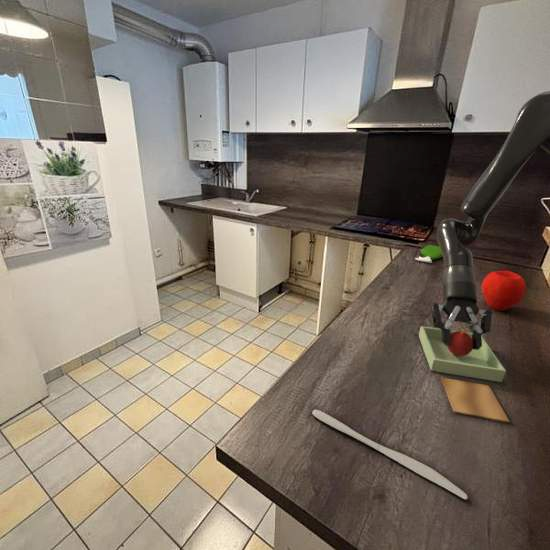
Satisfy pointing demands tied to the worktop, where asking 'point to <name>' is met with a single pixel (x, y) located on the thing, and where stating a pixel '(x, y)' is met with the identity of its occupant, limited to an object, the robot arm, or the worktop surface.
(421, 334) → the tray
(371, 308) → the worktop surface
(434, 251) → the spray bottle
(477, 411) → the cork mat
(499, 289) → the apple
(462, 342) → the red rounded piece
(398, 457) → the butter knife
